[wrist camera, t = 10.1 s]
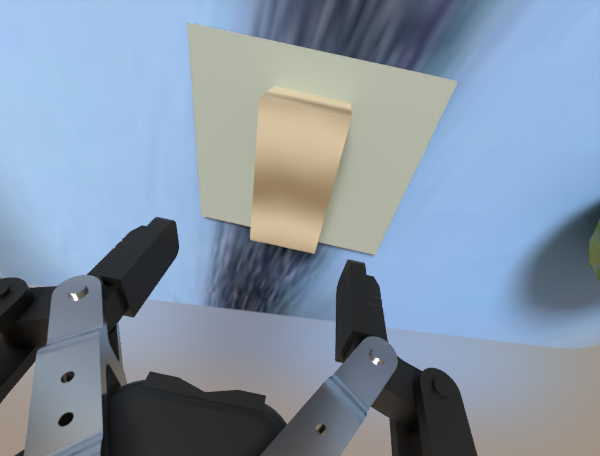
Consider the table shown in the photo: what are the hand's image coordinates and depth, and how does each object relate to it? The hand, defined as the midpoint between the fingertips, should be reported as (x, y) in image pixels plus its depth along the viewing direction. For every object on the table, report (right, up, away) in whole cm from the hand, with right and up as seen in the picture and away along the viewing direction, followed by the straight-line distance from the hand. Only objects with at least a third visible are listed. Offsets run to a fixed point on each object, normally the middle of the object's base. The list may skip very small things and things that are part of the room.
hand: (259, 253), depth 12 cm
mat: (+2, +6, +8) cm, 10 cm away
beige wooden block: (+2, +6, +8) cm, 10 cm away
